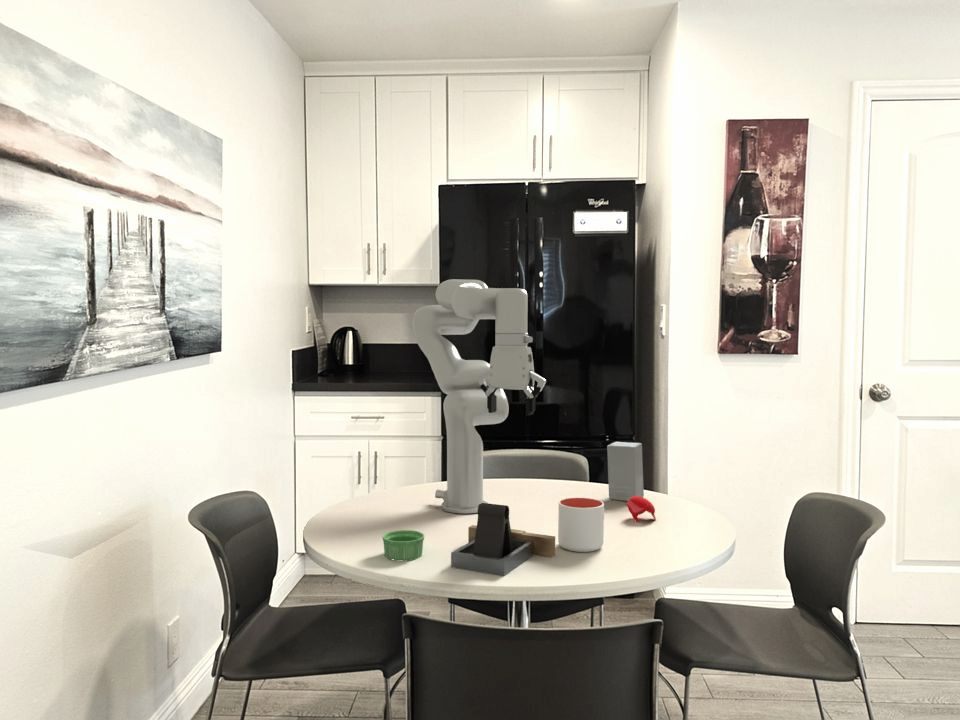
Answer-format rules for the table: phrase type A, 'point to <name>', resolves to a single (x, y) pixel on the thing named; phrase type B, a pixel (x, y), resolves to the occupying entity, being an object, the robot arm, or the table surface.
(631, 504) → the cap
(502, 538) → the phone stand
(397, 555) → the ramekin
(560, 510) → the cup
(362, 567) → the table surface
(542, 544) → the door edge rail
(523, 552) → the frame
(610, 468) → the skincare box
